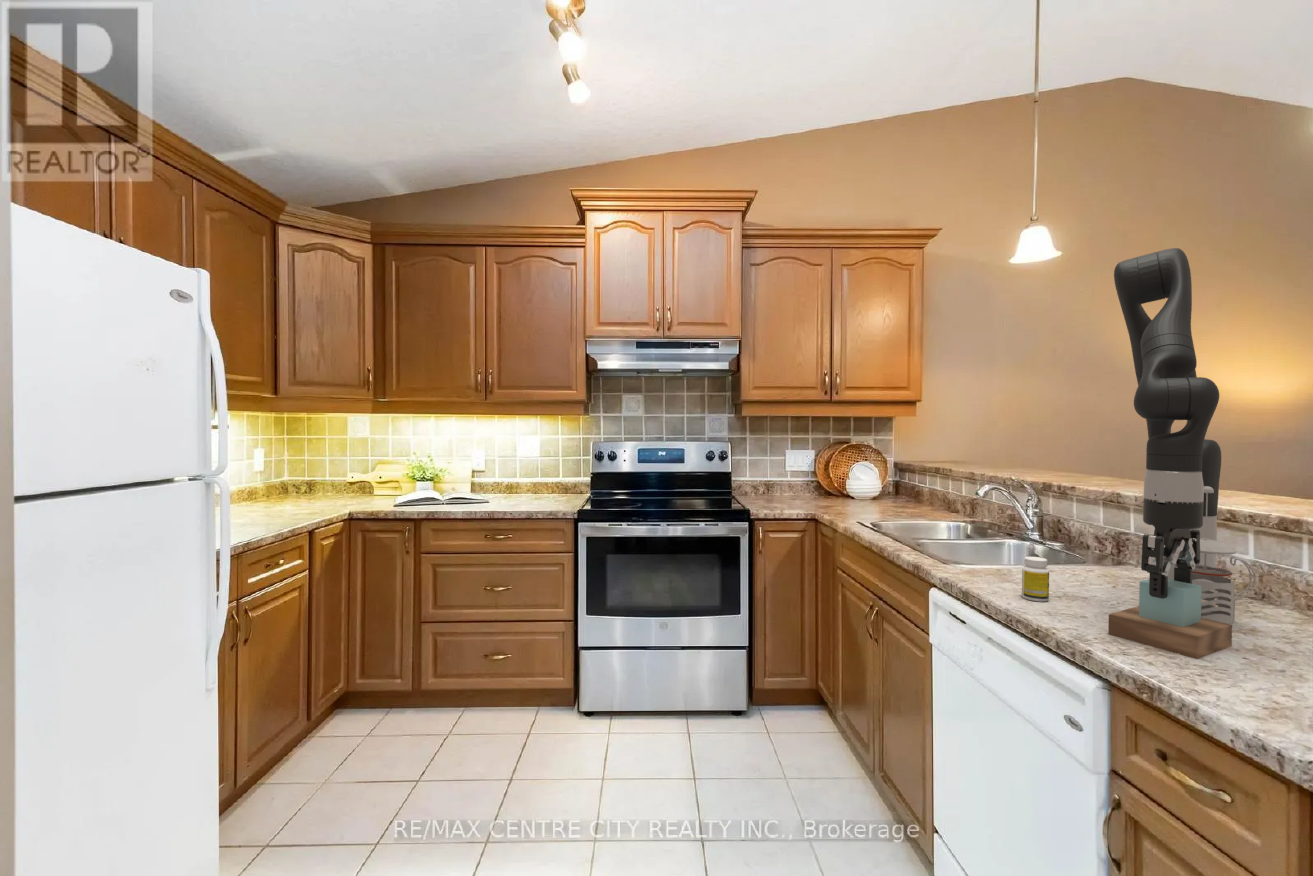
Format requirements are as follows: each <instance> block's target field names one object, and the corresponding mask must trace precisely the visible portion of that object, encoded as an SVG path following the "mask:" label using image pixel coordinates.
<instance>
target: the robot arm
mask: <svg viewBox="0 0 1313 876" xmlns="http://www.w3.org/2000/svg"><path fill="white" fill-rule="evenodd" d="M1191 272H1192V271H1191V268H1190V263H1189V258H1188V257H1187V255H1186V253H1185V251H1183V249H1182V248H1177V247H1172V248H1168V249H1167V248H1166V249H1161V250H1158V251H1154V252H1150V253H1147V254H1143V255H1139V256H1137V257H1132V258H1130V259H1125V260H1122V261H1119V262H1117V264H1116V266H1115V267H1114V270H1113V278H1114V279H1113V281H1114V286H1115V290H1116V294H1117V297H1118V300H1119V301H1118V302H1119V304H1120V308H1121V311H1122V315H1123V318H1124V322H1125V325H1126V329H1127V333H1128V336H1129V341H1130V342H1129V343H1130V348H1131V353H1132V359H1133V366H1134V373H1135V375H1136V376H1135V377H1136V381H1137V382H1136V383H1137V388H1136V390H1135V394H1134V398H1133V408H1134V410H1135V412H1136V414H1137V415H1139V416H1140V417H1141V418H1143V419H1145V420H1146V426H1147V427H1146V429H1147V436H1148V438H1147V442H1146V456H1145V457H1146V460H1145V461H1146V465H1145V469H1146V470H1145V476H1144V480H1143V500H1142V501H1143V502H1142V503H1143V506H1142V508H1143V509H1142V510H1143V512H1142V514H1143V515H1142V520H1143V521H1142V522H1144V524H1146V525H1148V526H1153V527H1154V530H1153V531H1154V532H1153V534H1146V533H1144V534H1143V535H1142V544H1141V563H1140V564H1141V567H1140V568H1141V571H1144V572H1146V573H1147V574H1149V575H1148V577H1149V594H1150V596H1152V597H1157V598H1161V599H1164V598H1167V596H1168V579H1169V580H1174V581H1179V582H1185V583H1190V584H1192V570H1194V568H1195V565H1200V566H1201V565H1202V566H1204V565H1205V553H1200V539H1202V538H1205V528H1206V493H1204V486H1208V487H1211V488H1213V490H1214V493H1208V504H1207V538H1208V539H1210V540H1214V541H1217V539H1218V538H1217V535H1218V531H1217V529H1218V507H1219V506H1218V505H1219V490H1220V489H1219V488H1220V477H1221V469H1222V450H1221V447H1220V444H1219V443H1218V442H1217V441H1216V440H1213V439H1205V438H1206V436H1207V435H1206V434H1207V431H1208V428H1209V426H1210V424H1211V420H1212V418H1213V416H1214V414H1215V412H1216V409H1217V407H1218V404H1219V401H1220V390H1219V388H1218V386H1217V384H1216V383H1215V382H1214V381H1213V380H1212V379H1211V378H1210V379H1209V378H1207V377H1200V376H1199V377H1198V376H1197V370H1196V368H1197V356H1196V352H1195V345H1194V341H1193V340H1194V339H1193V334H1192V312H1193V311H1192V307H1193V304H1192V303H1193V300H1192V299H1193V298H1192V297H1193V296H1192V295H1193V293H1192V292H1193V290H1192V288H1193V287H1192V285H1193V284H1192V273H1191ZM1164 299H1167V300H1166V301H1165V303H1164V305H1163V306H1162V308H1161V309H1160V310H1159V312H1158V313H1157V314H1156V315H1155V316H1154V317H1153V318H1152V319H1151V317H1150V316H1149V315H1148V313H1147V312H1146V310H1145V309H1144V307H1143V306H1142V305H1143V304H1147V303H1152V302H1156V301H1161V300H1164ZM1184 420H1185V421H1186V424H1185V426H1184V427H1182V429H1180V430H1179V431H1176V432H1172V425H1174V423H1175V421H1184ZM1206 566H1207V567H1208V566H1209V567H1212V568H1213V567H1214V568H1215V567H1216V568H1217V554H1207V553H1206ZM1191 569H1192V570H1191ZM1194 580H1198V581H1204V582H1212V583H1214V582H1213V581H1209V580H1206V579H1194ZM1208 591H1211V592H1214V593H1216V590H1214V589H1213V590H1208ZM1201 595H1206V593H1201ZM1210 598H1212V599H1214V597H1210Z"/></svg>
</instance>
